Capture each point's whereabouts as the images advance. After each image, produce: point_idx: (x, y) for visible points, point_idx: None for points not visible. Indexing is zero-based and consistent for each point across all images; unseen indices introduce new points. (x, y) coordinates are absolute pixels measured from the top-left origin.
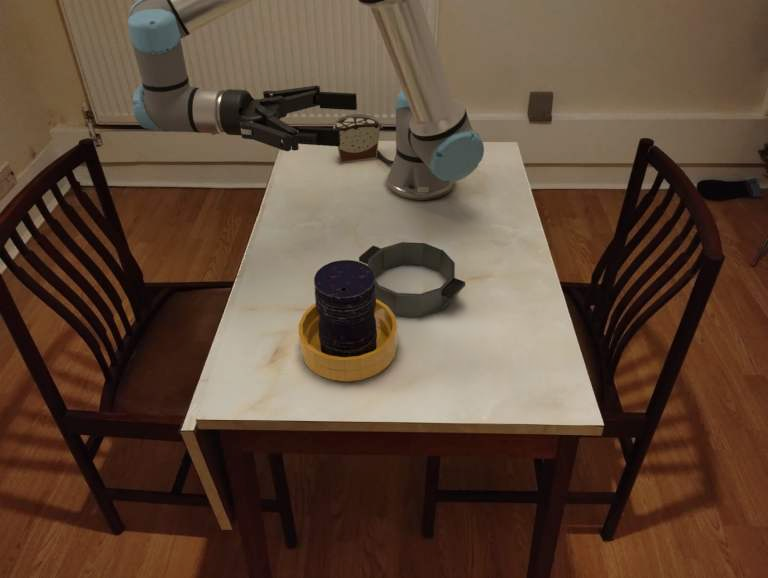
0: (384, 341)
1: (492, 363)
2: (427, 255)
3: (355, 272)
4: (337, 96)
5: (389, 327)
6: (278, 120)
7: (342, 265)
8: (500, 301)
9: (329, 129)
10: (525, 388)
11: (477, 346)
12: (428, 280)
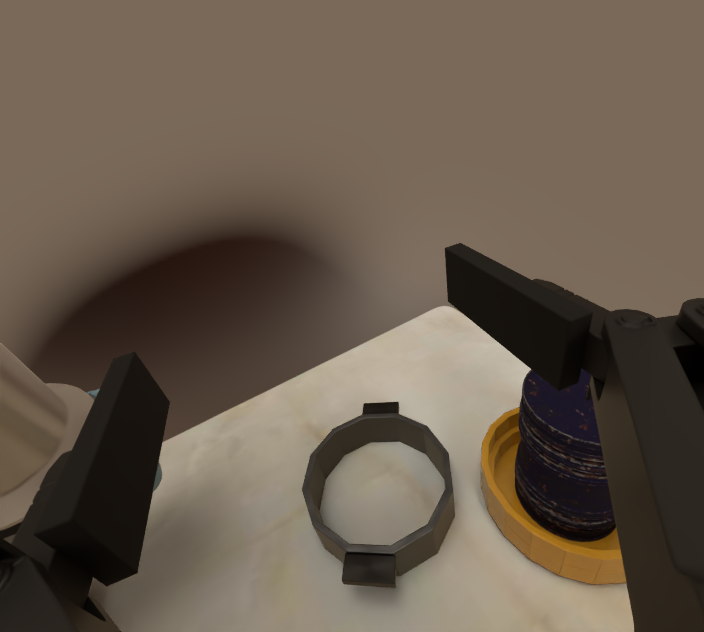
0: (509, 456)
1: (442, 364)
2: (314, 489)
3: (553, 394)
4: (117, 420)
5: (498, 442)
6: (668, 477)
7: (562, 420)
8: (349, 397)
9: (476, 255)
10: (450, 337)
11: (430, 383)
12: (350, 483)
